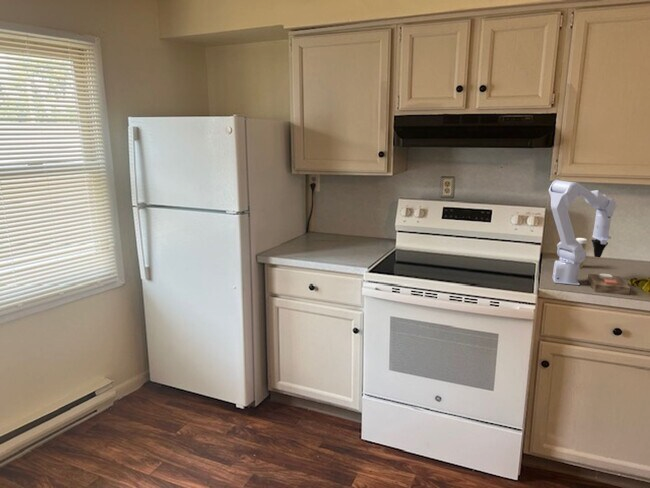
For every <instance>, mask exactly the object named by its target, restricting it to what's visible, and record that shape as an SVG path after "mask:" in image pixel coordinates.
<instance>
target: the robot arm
mask: <svg viewBox="0 0 650 488" xmlns="http://www.w3.org/2000/svg"><path fill="white" fill-rule="evenodd" d="M548 193H549V196H550V197H549V198H550V208H551V212H552V216H553V220H554V222H555V226H556V229H557V233H558V237H559V240H560V241H559V242H558V243H557V244H556V248H557V251H556V254H557V256H558V257H559V259H558V260H556V259H555V260H554V262H553V263H554V264H553V271H552V280H553V282H554V284H562V285H563V284H564V285H572V286H580V282H579V281H578V278H579V272H580V271H579V270H580V268H579V266H580V263H582V262H583V263H584V261H585V259H586V256H587V251H586V249H585V250H584V249H583V247H582V245H581V244H580V243H579V242H578V241H577V240H576V237H575V236H576V235H575V233H574V227H573V225H572V221H571V218H570V214H569V210H568V207H569V206H571V205H572V204H573V202H575V200H576V199H577V197H578V196H579V197H580V198H583V199H584V200H585V203H586V204H588V205H590V206H592V207H593V208H594V210H595V218H594V225H593V233H592V236H591V238H593V239H591V243H592V247H593V256H594V257H595V258H601V256H602V255H603V252H604V250H605V248H606V247H607V245H608V244H609V242H608V240H609V239H610V240H611V239H612V236H611V235H610V227H611V221H612V217H613V216H614V212H615V210H616V209H617V206H618V205H617V202H616V200H615V199H614V198H612V197H611V198H609V197H607V194H602V193H601V191H599V190H597V189H596V190H589V189H588V188H586V187H585V186H583V185H582V184H581V183H579V182H577V181H574V182H573V181H566V180H565V181H564V180H560V179H555V180H554V181H552V183H551V184H550V186H549V188H548Z"/></svg>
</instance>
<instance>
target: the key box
mask: <svg viewBox="0 0 650 488" xmlns="http://www.w3.org/2000/svg"><path fill="white" fill-rule="evenodd" d="M599 275H600V273H599V274H595V273H588V275H587V282H588V284H589V285H590V286H591V288H592V290H593V291H594V292H595V293H605V294H615V295H626V296H630V293H631V287H630V286H629V284H628V283H627V282H626V281H625V280H624V279H623V278H622V276H621V275H620V276H619V275H611V276H612V277H613V279H612V280H616V282H617V285H613V284H605V283H604V282H603V281H604V278H600V276H599Z"/></svg>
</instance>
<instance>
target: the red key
mask: <svg viewBox="0 0 650 488" xmlns="http://www.w3.org/2000/svg"><path fill="white" fill-rule="evenodd" d="M603 282H604V283H605V284H613V285H617V282H616V280H612V279H604V281H603Z"/></svg>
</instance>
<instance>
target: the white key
mask: <svg viewBox="0 0 650 488" xmlns="http://www.w3.org/2000/svg"><path fill="white" fill-rule="evenodd" d="M599 276H600V278H604V279H613V277H612V276H613V275H612V274H608V273H599Z"/></svg>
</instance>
